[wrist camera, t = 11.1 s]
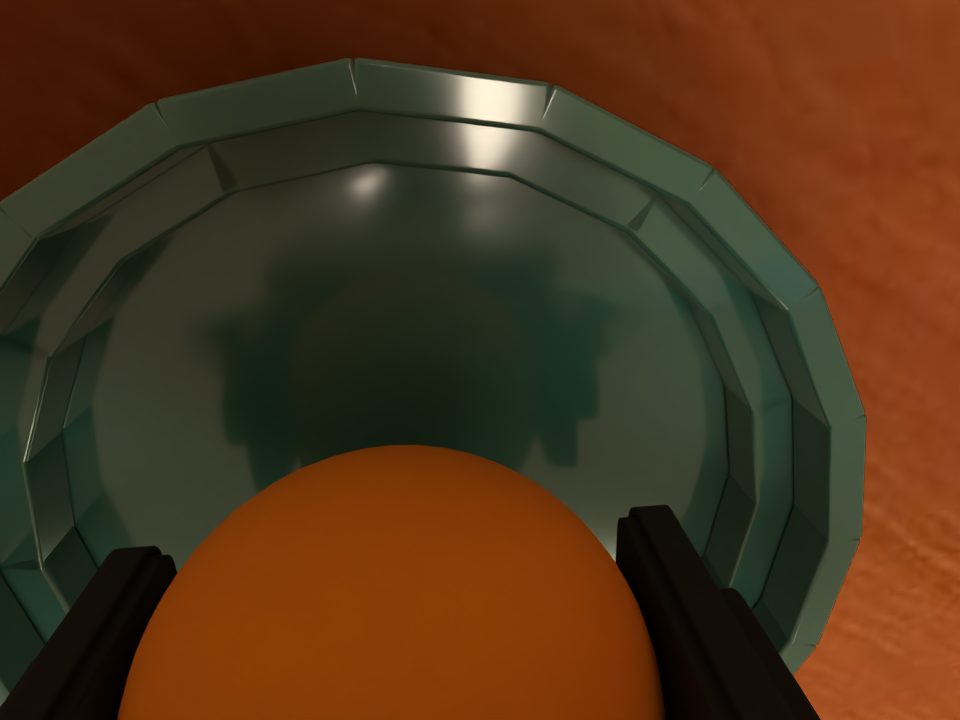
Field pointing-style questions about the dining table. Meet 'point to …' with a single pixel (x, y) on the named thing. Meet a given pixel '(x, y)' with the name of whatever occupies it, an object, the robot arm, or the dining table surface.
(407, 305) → the dish
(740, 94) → the dining table surface
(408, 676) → the orange
